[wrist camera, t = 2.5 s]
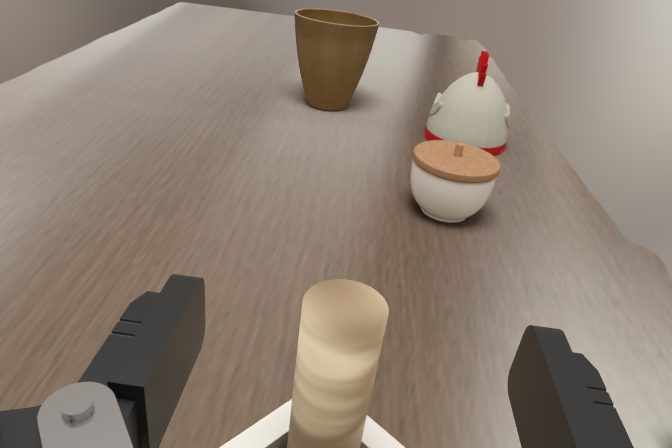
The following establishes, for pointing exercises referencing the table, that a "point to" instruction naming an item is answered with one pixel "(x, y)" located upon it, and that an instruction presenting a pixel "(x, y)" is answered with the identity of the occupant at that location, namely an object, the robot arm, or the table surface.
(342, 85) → the plant pot
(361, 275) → the table surface
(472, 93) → the chicken shaped dome
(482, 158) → the lidded jar
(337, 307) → the dowel
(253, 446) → the holder block
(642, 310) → the table surface
